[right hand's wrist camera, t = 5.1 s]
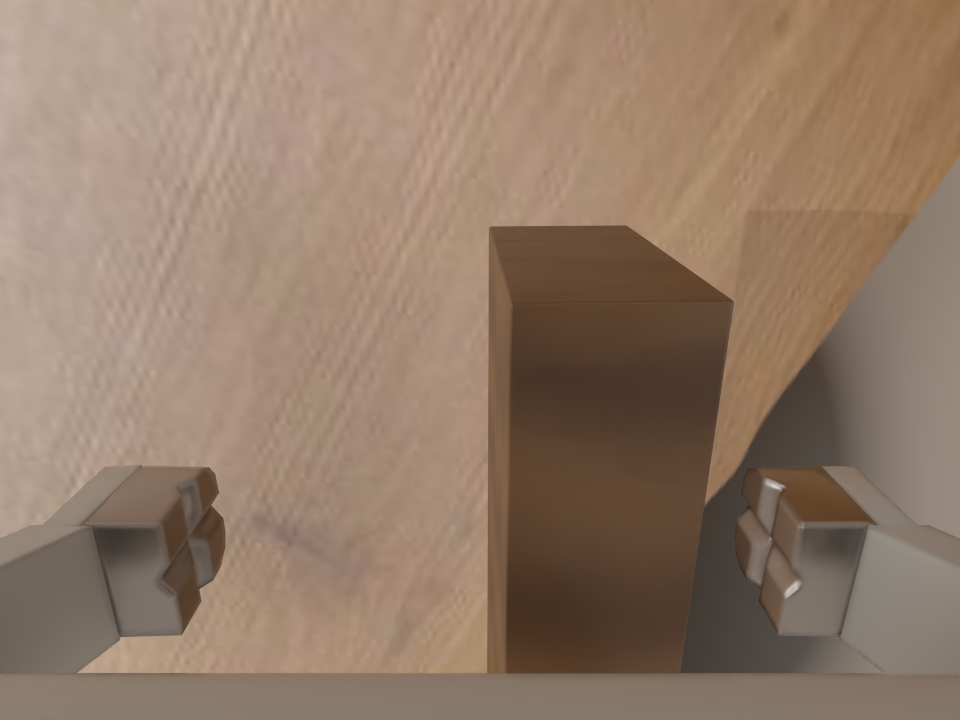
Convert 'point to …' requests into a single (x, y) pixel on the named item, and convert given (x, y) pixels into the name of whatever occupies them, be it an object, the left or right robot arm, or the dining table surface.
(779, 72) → the dining table surface
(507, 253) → the bar
